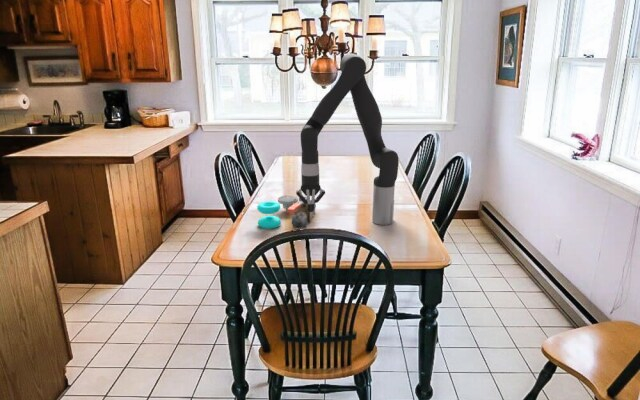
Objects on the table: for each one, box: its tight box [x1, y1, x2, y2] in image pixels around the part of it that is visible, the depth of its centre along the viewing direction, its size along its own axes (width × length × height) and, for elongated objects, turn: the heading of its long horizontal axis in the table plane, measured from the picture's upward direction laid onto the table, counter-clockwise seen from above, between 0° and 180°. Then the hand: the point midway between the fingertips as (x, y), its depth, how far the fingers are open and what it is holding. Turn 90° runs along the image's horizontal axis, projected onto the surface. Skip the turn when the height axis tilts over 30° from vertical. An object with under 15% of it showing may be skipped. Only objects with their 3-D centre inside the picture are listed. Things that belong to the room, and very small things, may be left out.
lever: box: [287, 196, 307, 215], centre depth 205 cm, size 17×4×2 cm, turn 159°
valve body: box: [291, 199, 317, 229], centre depth 212 cm, size 7×22×8 cm, turn 168°
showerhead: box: [277, 194, 299, 213], centre depth 223 cm, size 9×7×10 cm
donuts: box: [256, 200, 282, 230], centre depth 205 cm, size 10×10×10 cm
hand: (311, 211), depth 202 cm, fingers closed
